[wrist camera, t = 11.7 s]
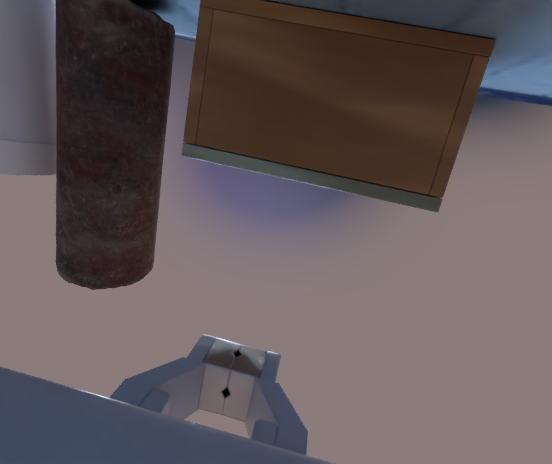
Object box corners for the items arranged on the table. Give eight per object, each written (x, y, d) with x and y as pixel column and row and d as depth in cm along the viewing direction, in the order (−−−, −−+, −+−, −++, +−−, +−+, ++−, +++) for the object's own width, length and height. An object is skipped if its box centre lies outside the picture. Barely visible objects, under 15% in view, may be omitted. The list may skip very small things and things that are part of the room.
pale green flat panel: (407, 181, 29) (405, 190, 29) (228, 142, 30) (226, 152, 31) (442, 199, 20) (438, 212, 20) (182, 142, 21) (180, 155, 21)
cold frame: (441, 75, 26) (408, 181, 28) (243, 39, 28) (226, 142, 30) (496, 39, 17) (443, 198, 20) (201, -11, 19) (182, 141, 21)
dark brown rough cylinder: (181, -2, 21) (148, 293, 26) (181, 26, 28) (155, 257, 33) (36, -46, 19) (32, 287, 24) (74, -4, 26) (65, 249, 31)
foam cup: (-141, -88, 18) (-115, 161, 22) (65, -22, 22) (58, 181, 25) (-57, -28, 26) (-48, 145, 30) (82, 12, 30) (76, 162, 34)
